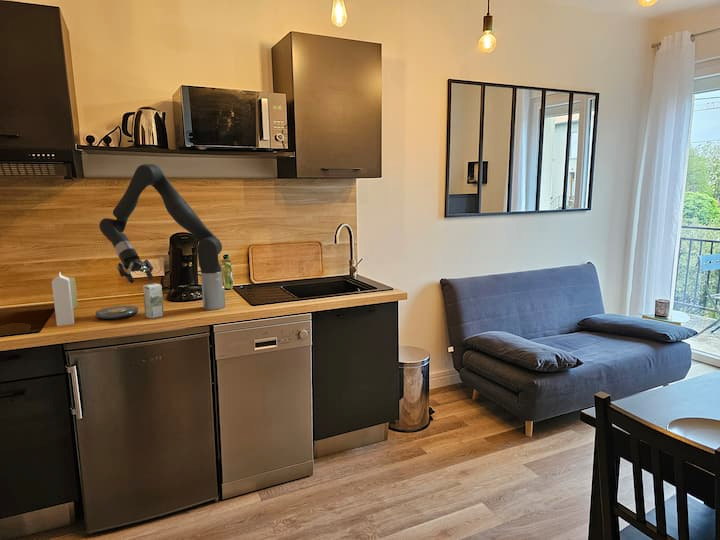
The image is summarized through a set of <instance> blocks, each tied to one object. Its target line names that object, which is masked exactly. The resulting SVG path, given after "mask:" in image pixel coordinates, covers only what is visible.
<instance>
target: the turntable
mask: <svg viewBox="0 0 720 540" xmlns="http://www.w3.org/2000/svg"><path fill="white" fill-rule="evenodd" d="M138 313H139V307H138V306H136V305H116V306H114V305H113V306H108V307H105V308H100V309H98V310H96V311H95V317H96V318H97V319H99V320H100V319H102V320H106V319H115V318H123V317H127V318H129V317H128V316H130V317H132V316H134V315H137V314H138ZM123 319H124V318H123ZM115 320H116V319H115Z"/></svg>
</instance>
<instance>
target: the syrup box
mask: <svg viewBox="0 0 720 540" xmlns="http://www.w3.org/2000/svg"><path fill="white" fill-rule="evenodd" d="M162 288H163V287H162V285H161V284H160V283H157V282H155V283H149V284H145V285H142V289H143V290H142V291H143V303H144V304H143V305H144V316H145V317H146V318H148V319H151V320H153V319H158V318H162V317H164V316H165V313H164V301H163V298H164V297H163V289H162Z"/></svg>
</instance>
